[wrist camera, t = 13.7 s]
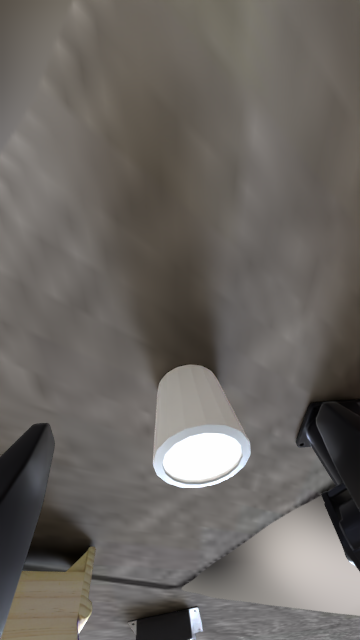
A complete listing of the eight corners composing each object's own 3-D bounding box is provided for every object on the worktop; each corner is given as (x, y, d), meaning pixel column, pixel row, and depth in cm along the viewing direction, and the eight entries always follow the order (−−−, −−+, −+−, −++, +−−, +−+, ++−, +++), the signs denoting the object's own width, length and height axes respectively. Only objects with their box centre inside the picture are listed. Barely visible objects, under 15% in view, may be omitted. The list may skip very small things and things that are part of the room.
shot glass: (239, 385, 25) (270, 454, 18) (186, 425, 26) (199, 499, 20) (190, 344, 22) (208, 409, 16) (134, 392, 23) (131, 467, 17)
